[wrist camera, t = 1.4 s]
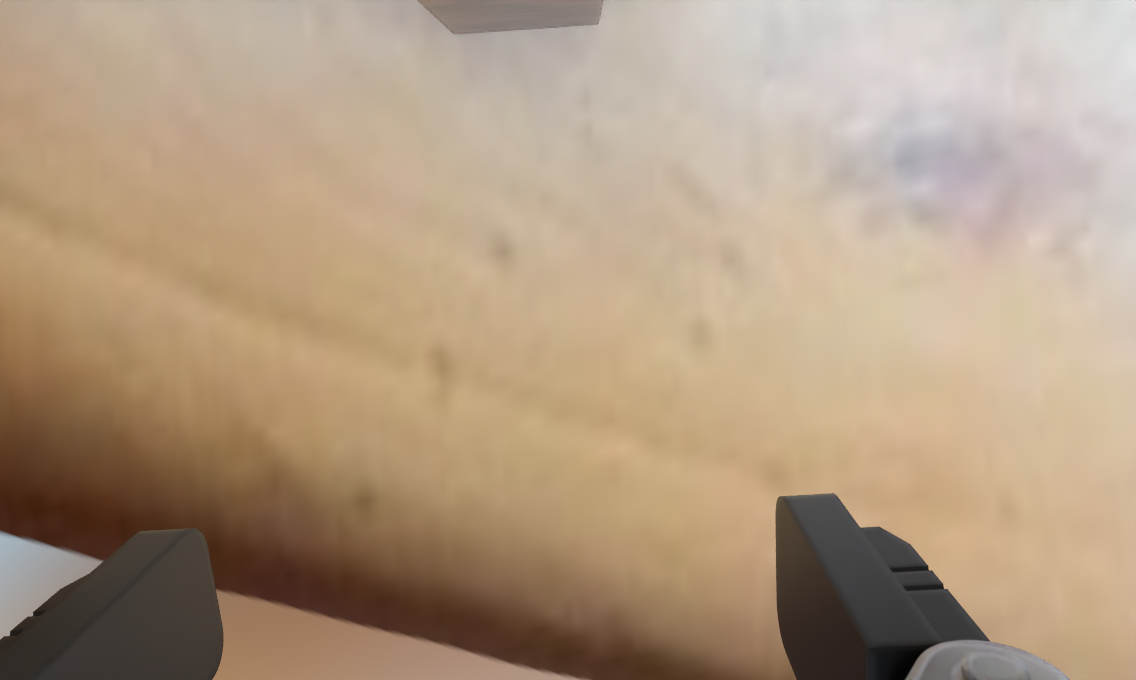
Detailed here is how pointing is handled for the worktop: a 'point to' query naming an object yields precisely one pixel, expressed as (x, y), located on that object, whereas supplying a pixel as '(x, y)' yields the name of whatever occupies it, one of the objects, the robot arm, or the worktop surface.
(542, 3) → the walnut block
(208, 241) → the worktop surface
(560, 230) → the worktop surface
